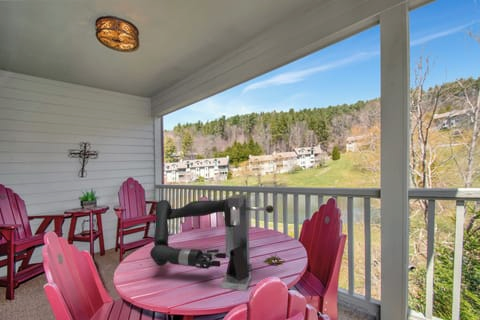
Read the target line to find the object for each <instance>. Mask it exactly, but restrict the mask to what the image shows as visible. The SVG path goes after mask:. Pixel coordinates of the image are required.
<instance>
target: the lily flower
mask: <svg viewBox="0 0 480 320" xmlns="http://www.w3.org/2000/svg"><path fill="white" fill-rule="evenodd" d="M269 255H270V257H268V258H267V257H265V259H266V260H263V263H267V265H268V266H269V265H271V264H272V265H274V266H276V267H278V266H279V264H282V263H284V261H279V260H283V259H281V258H280V257H279V256H277V255H278V254H276V253H275V255H273V256H272V253H270V254H269ZM272 260H274V261H275V260H277V262H276V261H275V263H274V261H272ZM273 263H274V264H273ZM282 265H283V264H282Z"/></svg>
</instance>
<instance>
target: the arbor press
mask: <svg viewBox="0 0 480 320" xmlns="http://www.w3.org/2000/svg"><path fill="white" fill-rule="evenodd" d="M227 199H228V207H231V225H235V249H236V248H238V247H240V248H241V247H242V248H243V249H244V257H245V261H246V265H247V269H248V273H249V276H247V277H246V278H244V279H242V280H240V281H239V280H237V279H235V278H233V277H231V276H228V275H227V274H225V275H224V277H223V278H222V280H221V281H220V288H221V289H228V290H237V291H244V292H245V291H247V289H248V288H249V285H250V282H251V280H252V272H251V271H252V270H253V266H252V265H253V264H252V263H250V233H249V230H250V229H249V211H262V212H264V211H266V212H267V213H269V214H272V213H273V212H274V211H275V210H274V206H272V205H270V204H269V205H267V206H266V207H265V206H264V207H262V206H261V207H260V206H259V207H258V206H253V207H252V206H249V199H248V197H247V195H246V194H235V195H232V196H230V197H228V198H227Z"/></svg>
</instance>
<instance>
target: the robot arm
mask: <svg viewBox="0 0 480 320" xmlns="http://www.w3.org/2000/svg"><path fill="white" fill-rule="evenodd" d="M154 213H155V228H154V230H155V231H154V239H153V244H154V246H153V247H152V248H151V249H150V252H149V255H150V257H151V259H152V260H153V262H154V263H155V264H156V265H157V266H158V267H159V266H160V267H162V266H165V265H166V264H167V263H168V262H169V263H170V264H172V265H177V266H178V265H180V266H184V267H195V268H196V269H198V268H199V269H205V270H208V269H210V268H211V267H217V268H219V267H221V261H220V260H215V259H227V257H228V258H230V251H231V250H233V249H235V225H231V207H228V198H225V199H219V200H210V199H209V200H208V199H207V200H195V201H193V200H192V201H191V202H189V203H187V204H185V205H184V206H182V207H179V208H178V207H177V208H172V205H171V203H170V201H168V200H166V199H162V200H159V201H158V202H157V203H155V205H154ZM215 213H224V215H223V216H224V217H223V218H224V231H225V232H224V233H225V252H224V253H223V252H219V250H212V249H211V250H210V249H209V250H208V249H207V250H206V252H203V251H202V250H201V249H195V248H175V247H172V246H169V225H168V220H169V221H170V220H174V219H179V218H180V219H181V218H189V217H190V218H191V217H204V216H208V215H213V214H215Z"/></svg>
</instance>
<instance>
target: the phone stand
mask: <svg viewBox="0 0 480 320" xmlns="http://www.w3.org/2000/svg"><path fill="white" fill-rule="evenodd" d="M225 273H226V274H227V275H228V276H231V277H233V278H235V279H237V280H239V281H240V280H242V279H244V278H246V277H247V276H249V273H248V269H247V265H246V261H245V257H244V249H243V248H242V247H241V248H240V247H238V248H236V249H233V250H231V251H230V257H229V260H228V264H227V268H226V272H225ZM226 274H225V275H226Z"/></svg>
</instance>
